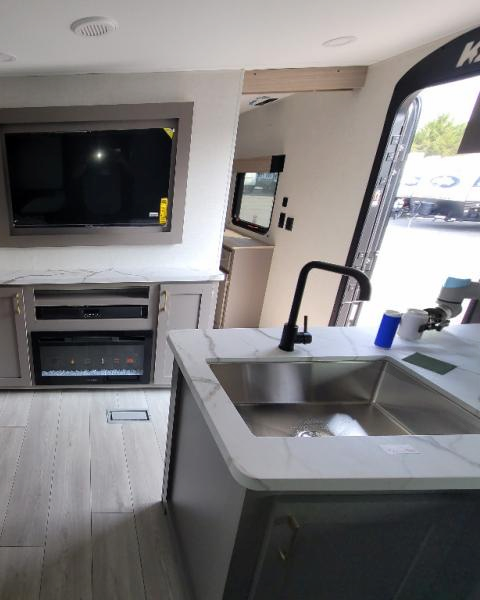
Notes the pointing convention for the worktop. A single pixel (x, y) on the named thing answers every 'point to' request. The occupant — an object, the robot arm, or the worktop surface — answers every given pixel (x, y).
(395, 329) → the beverage can
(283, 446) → the worktop surface
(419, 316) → the can
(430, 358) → the mat
